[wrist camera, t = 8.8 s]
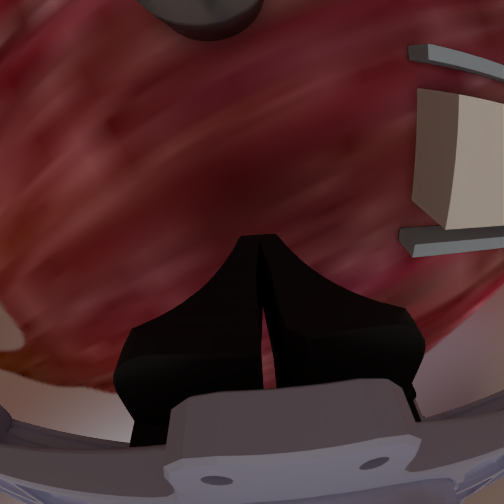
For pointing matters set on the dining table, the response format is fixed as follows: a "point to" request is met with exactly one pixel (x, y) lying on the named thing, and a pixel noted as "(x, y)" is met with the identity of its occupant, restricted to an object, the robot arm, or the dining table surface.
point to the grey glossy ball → (205, 16)
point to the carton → (459, 160)
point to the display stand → (437, 237)
